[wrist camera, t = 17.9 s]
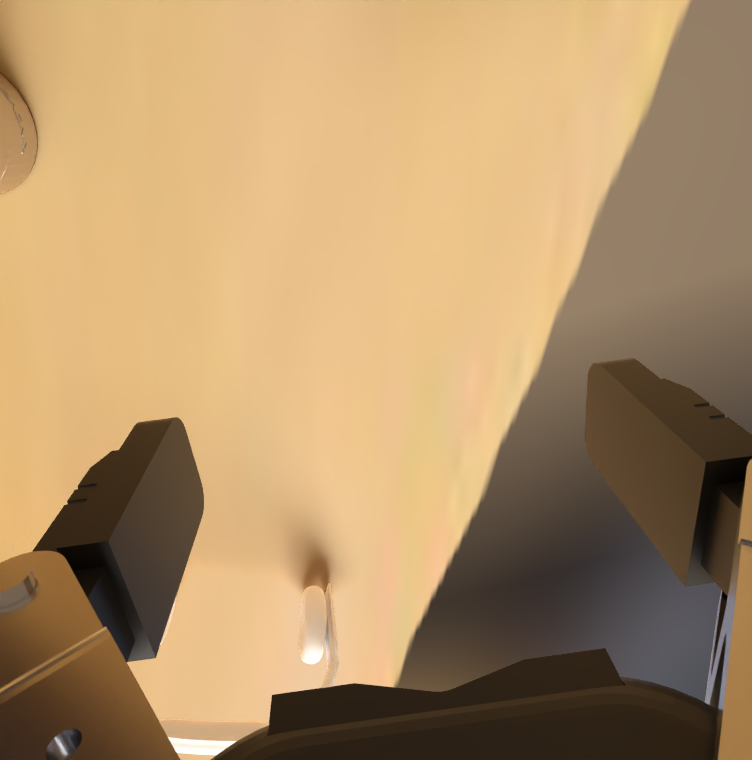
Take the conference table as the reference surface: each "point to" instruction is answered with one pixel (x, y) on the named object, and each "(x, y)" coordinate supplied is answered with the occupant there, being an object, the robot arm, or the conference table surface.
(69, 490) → the conference table surface
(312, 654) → the headset
